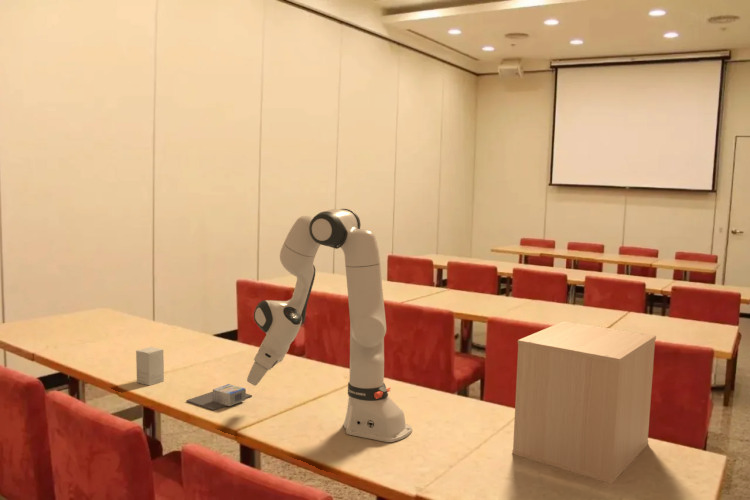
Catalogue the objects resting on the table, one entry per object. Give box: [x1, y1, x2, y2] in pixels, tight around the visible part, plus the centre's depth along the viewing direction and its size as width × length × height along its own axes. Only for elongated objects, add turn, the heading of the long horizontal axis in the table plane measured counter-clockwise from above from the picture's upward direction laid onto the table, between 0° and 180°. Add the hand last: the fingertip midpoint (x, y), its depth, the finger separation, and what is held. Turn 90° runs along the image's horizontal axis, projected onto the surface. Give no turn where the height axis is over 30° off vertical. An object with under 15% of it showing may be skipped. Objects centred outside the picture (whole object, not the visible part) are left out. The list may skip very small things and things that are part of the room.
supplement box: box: [135, 346, 165, 386], centre depth 248 cm, size 7×7×13 cm
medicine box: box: [212, 383, 247, 407], centre depth 227 cm, size 8×4×9 cm
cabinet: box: [511, 320, 657, 485], centre depth 194 cm, size 35×29×34 cm
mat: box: [186, 391, 253, 412], centre depth 231 cm, size 14×18×1 cm
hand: (256, 380), depth 221 cm, fingers closed
